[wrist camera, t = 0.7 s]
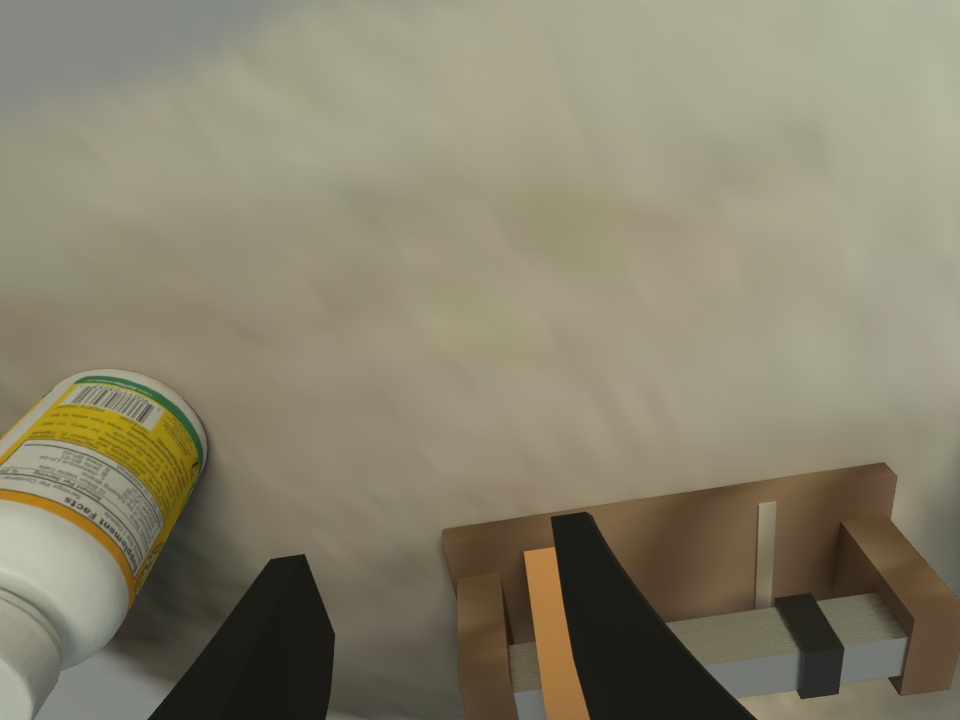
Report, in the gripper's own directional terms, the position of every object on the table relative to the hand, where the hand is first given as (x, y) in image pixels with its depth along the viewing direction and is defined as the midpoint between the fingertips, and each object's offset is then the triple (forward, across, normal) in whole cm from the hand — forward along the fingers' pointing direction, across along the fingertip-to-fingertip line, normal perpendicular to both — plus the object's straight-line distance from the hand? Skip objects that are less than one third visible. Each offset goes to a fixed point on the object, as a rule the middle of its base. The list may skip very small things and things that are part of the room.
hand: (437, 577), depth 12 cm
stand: (+10, -6, +12) cm, 17 cm away
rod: (+7, -6, +11) cm, 15 cm away
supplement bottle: (+11, +11, +2) cm, 15 cm away
